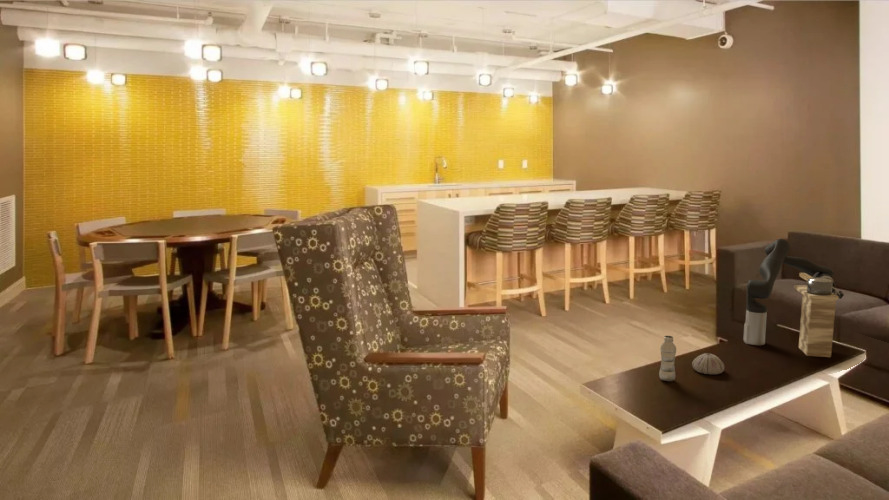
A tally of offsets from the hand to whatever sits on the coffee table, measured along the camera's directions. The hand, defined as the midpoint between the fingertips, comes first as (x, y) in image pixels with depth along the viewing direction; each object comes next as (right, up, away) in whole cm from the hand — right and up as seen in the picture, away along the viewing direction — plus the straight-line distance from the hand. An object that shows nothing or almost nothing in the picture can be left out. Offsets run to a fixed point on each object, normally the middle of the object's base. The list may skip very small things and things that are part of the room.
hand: (828, 293), depth 280 cm
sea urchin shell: (-78, -34, -31) cm, 90 cm away
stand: (-15, -27, -8) cm, 32 cm away
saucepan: (-15, +3, -8) cm, 17 cm away
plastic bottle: (-100, -36, -40) cm, 113 cm away
